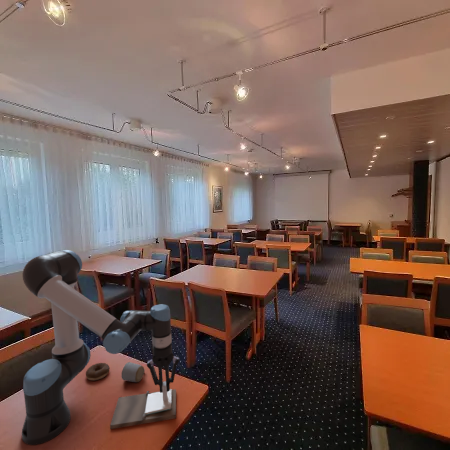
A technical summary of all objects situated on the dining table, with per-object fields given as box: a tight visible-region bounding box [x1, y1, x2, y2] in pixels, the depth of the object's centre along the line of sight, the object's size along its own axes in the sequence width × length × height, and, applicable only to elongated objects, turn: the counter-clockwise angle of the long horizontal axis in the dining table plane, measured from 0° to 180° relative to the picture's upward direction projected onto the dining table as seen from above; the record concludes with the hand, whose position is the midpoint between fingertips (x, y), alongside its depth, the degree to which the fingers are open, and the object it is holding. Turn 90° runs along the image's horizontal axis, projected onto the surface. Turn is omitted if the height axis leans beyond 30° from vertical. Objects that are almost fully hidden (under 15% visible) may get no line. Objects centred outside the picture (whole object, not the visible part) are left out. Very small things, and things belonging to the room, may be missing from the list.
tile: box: [145, 388, 173, 415], centre depth 106 cm, size 10×10×1 cm
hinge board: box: [109, 388, 177, 430], centre depth 105 cm, size 24×14×2 cm, turn 100°
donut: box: [85, 362, 110, 381], centre depth 127 cm, size 11×11×4 cm
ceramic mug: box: [120, 361, 146, 383], centre depth 124 cm, size 11×8×8 cm
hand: (165, 398), depth 106 cm, fingers closed
